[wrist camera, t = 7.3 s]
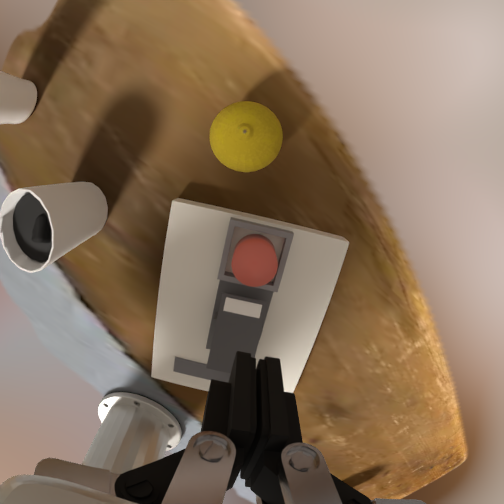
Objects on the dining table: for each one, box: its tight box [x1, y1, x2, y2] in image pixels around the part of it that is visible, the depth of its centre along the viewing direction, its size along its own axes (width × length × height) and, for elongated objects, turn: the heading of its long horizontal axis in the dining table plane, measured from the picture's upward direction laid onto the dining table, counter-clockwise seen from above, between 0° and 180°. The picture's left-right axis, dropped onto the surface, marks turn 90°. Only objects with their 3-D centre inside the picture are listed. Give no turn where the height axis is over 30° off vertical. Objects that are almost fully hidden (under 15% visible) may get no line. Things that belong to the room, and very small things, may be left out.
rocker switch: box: [206, 292, 267, 373], centre depth 26 cm, size 7×4×1 cm, turn 167°
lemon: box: [209, 101, 283, 172], centre depth 22 cm, size 6×6×8 cm
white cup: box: [0, 182, 108, 273], centre depth 23 cm, size 7×7×10 cm
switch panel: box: [151, 198, 349, 393], centre depth 29 cm, size 20×16×4 cm
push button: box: [231, 234, 278, 287], centre depth 25 cm, size 4×4×3 cm
